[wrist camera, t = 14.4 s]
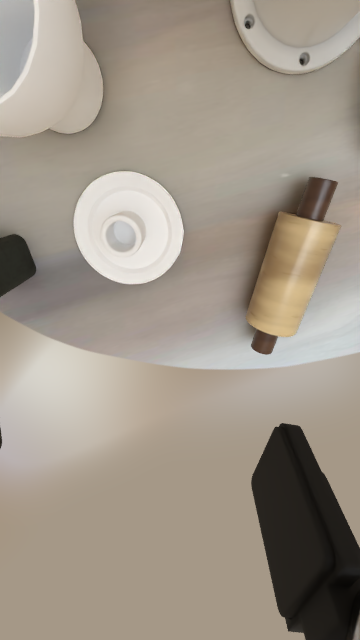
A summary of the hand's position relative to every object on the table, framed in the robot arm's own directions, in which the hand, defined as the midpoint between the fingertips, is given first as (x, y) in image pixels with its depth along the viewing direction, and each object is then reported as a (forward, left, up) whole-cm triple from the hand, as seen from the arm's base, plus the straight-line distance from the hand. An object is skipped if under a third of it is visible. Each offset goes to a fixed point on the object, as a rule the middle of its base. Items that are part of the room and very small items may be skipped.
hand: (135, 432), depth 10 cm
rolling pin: (-10, +9, -26) cm, 29 cm away
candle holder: (+2, -4, -26) cm, 27 cm away
